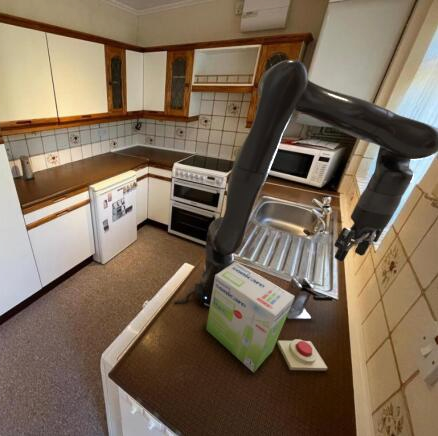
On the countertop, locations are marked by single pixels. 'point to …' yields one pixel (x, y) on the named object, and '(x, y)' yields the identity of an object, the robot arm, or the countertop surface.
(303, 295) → the grey upright angular piece
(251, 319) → the toothbrush box
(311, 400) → the countertop surface
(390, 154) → the robot arm
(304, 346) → the stop button
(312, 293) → the press lever
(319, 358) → the button block
